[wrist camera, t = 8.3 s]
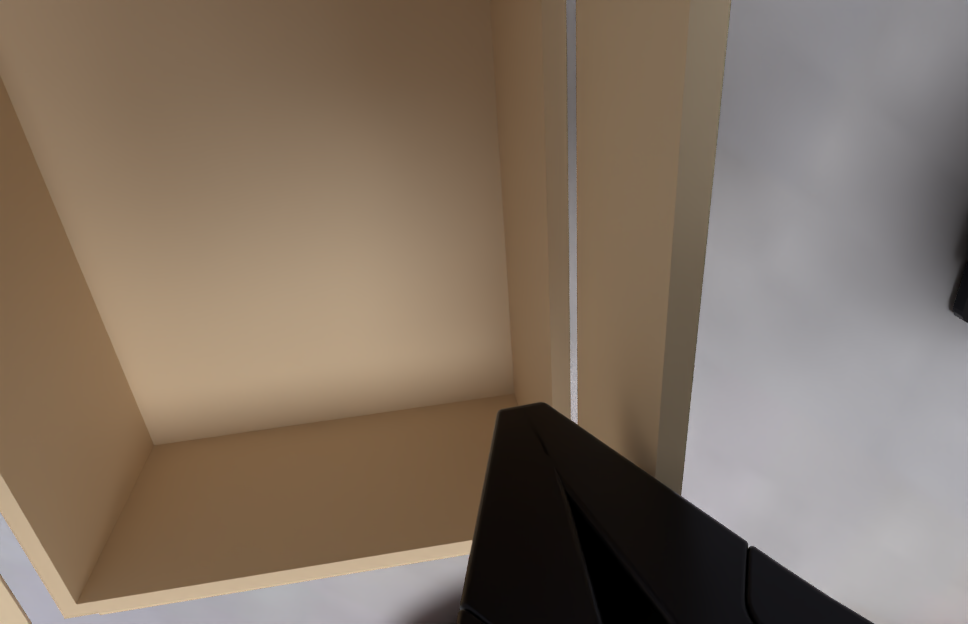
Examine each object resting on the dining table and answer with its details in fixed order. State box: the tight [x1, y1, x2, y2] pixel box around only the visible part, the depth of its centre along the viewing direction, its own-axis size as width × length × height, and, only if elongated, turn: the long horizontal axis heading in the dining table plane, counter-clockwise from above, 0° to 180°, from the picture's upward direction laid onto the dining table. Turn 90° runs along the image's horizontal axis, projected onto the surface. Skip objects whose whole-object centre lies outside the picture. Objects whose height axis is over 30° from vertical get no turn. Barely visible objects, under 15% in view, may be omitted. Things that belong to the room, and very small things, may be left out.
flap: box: [576, 0, 731, 496], centre depth 9 cm, size 6×13×1 cm
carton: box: [0, 0, 571, 619], centre depth 14 cm, size 12×15×6 cm
